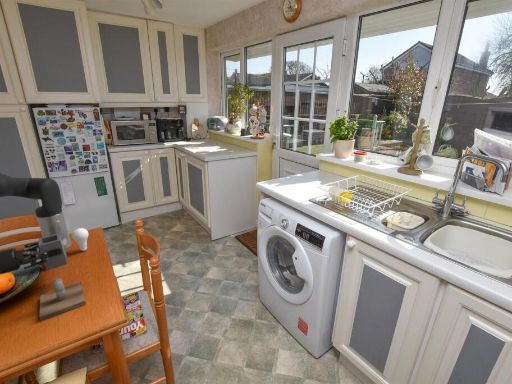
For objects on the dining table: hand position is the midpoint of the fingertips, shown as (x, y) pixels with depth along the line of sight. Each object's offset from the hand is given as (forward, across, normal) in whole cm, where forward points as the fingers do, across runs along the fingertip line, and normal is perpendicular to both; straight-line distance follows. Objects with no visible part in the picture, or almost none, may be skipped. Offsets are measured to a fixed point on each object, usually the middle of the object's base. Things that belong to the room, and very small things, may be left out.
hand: (60, 246), depth 96 cm
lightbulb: (+6, +21, +15) cm, 26 cm away
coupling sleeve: (-2, 0, +6) cm, 6 cm away
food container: (-5, +15, +15) cm, 21 cm away
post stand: (-3, -12, +14) cm, 19 cm away
